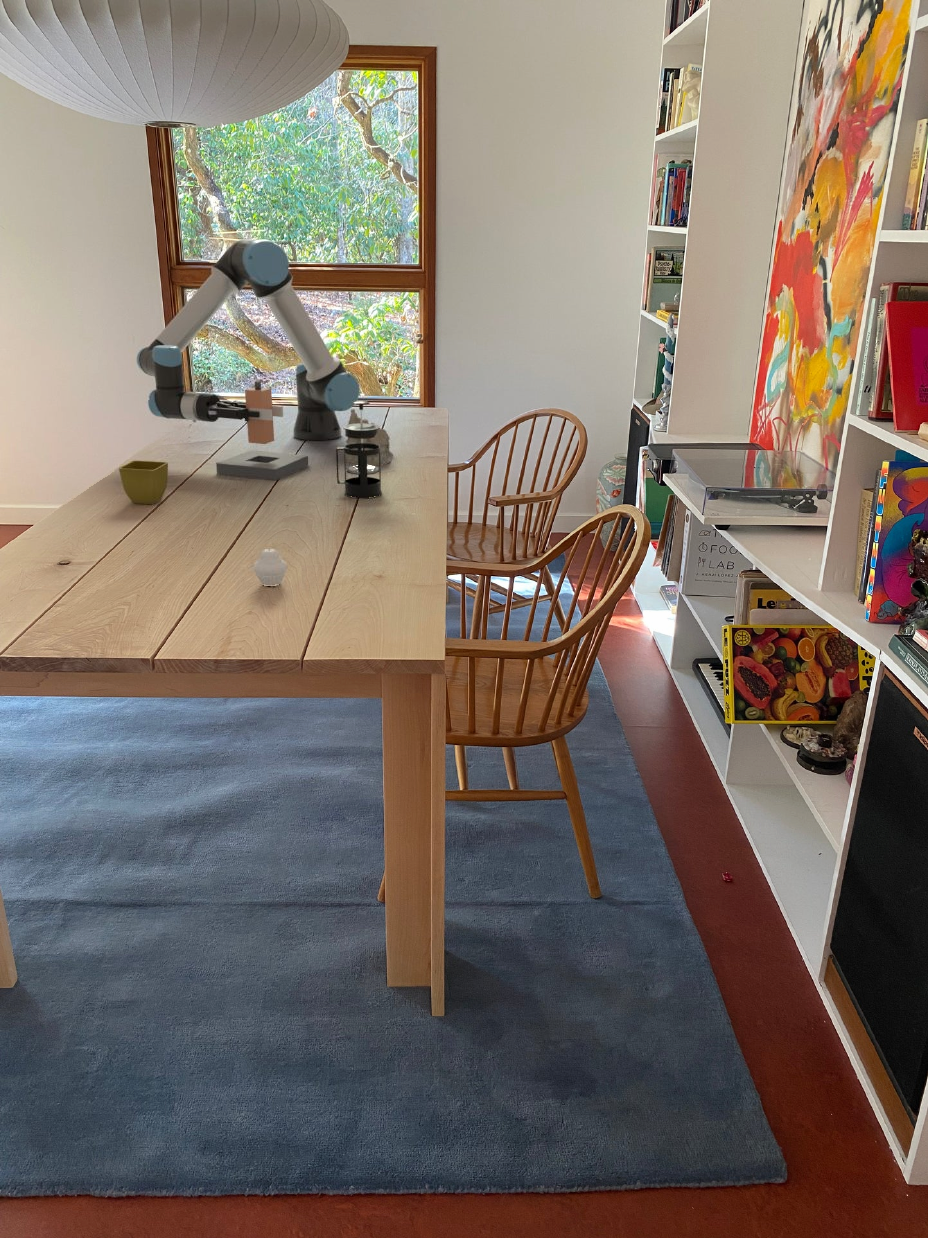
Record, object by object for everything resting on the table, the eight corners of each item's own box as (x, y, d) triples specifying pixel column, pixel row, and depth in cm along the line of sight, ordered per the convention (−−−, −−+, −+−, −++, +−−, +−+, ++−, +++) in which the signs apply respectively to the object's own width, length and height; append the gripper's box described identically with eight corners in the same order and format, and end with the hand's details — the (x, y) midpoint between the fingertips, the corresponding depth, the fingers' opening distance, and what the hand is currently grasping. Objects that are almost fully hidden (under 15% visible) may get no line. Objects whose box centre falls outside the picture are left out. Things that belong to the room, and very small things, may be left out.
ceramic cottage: (364, 467, 263) (365, 412, 259) (335, 458, 276) (335, 406, 271) (410, 464, 272) (412, 411, 268) (380, 456, 285) (381, 405, 280)
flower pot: (172, 497, 230) (168, 461, 227) (158, 507, 222) (154, 469, 219) (137, 496, 231) (133, 460, 227) (122, 505, 223) (117, 468, 219)
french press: (382, 488, 242) (381, 398, 233) (386, 498, 233) (384, 404, 225) (336, 489, 240) (333, 398, 232) (338, 499, 232) (335, 404, 223)
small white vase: (286, 590, 172) (284, 553, 170) (252, 590, 172) (249, 553, 169) (289, 578, 178) (287, 543, 175) (256, 578, 177) (254, 543, 175)
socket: (252, 460, 269) (251, 450, 268) (308, 466, 264) (308, 455, 263) (217, 474, 253) (216, 462, 252) (276, 480, 248) (275, 469, 247)
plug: (258, 439, 259) (254, 379, 252) (274, 440, 257) (270, 380, 251) (248, 442, 254) (244, 382, 248) (264, 444, 253) (260, 383, 247)
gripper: (221, 415, 267) (294, 421, 260) (183, 426, 251) (260, 433, 244) (219, 388, 264) (292, 394, 257) (181, 397, 249) (258, 404, 242)
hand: (276, 413), depth 251 cm, fingers closed on plug, 5 cm apart
